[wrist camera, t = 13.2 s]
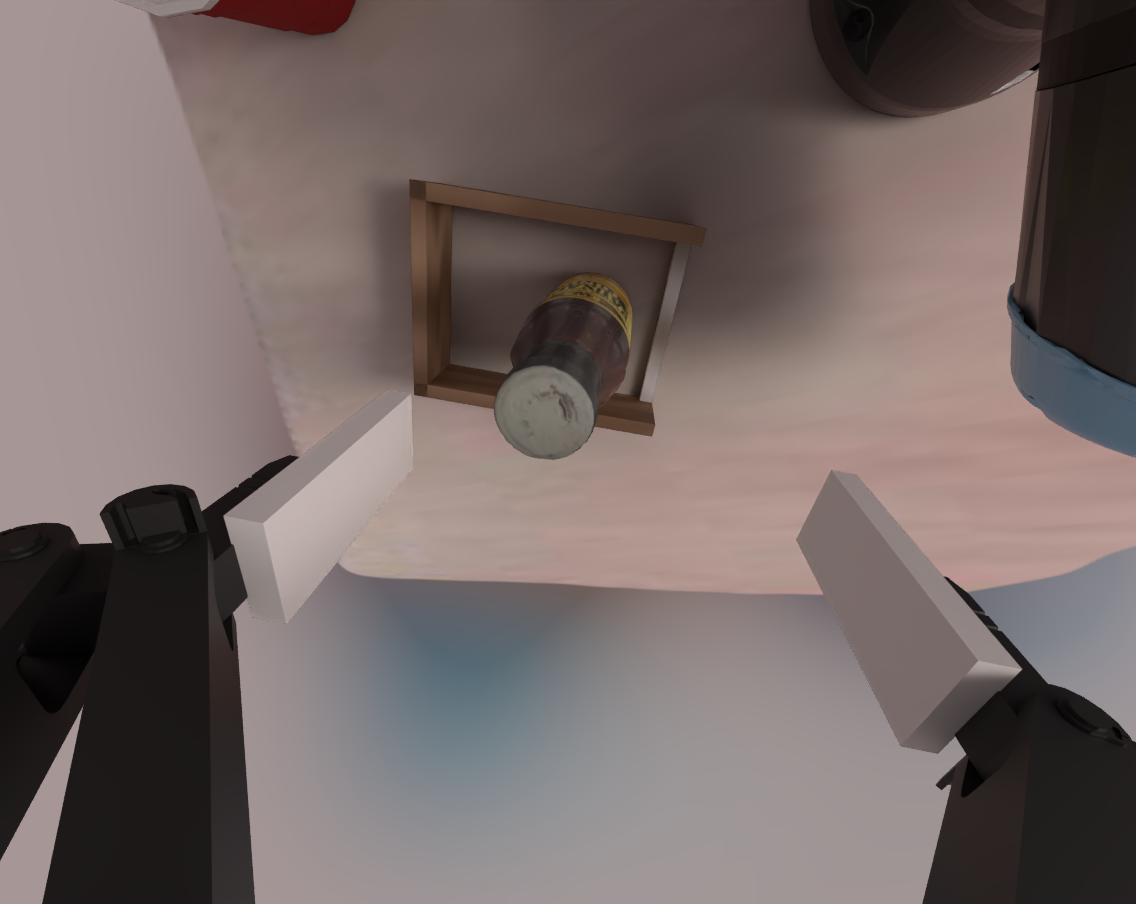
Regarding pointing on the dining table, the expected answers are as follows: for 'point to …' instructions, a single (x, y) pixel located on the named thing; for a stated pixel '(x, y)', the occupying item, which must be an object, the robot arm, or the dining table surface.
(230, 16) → the plastic cup
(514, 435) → the sauce bottle
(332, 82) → the dining table surface
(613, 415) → the frame
